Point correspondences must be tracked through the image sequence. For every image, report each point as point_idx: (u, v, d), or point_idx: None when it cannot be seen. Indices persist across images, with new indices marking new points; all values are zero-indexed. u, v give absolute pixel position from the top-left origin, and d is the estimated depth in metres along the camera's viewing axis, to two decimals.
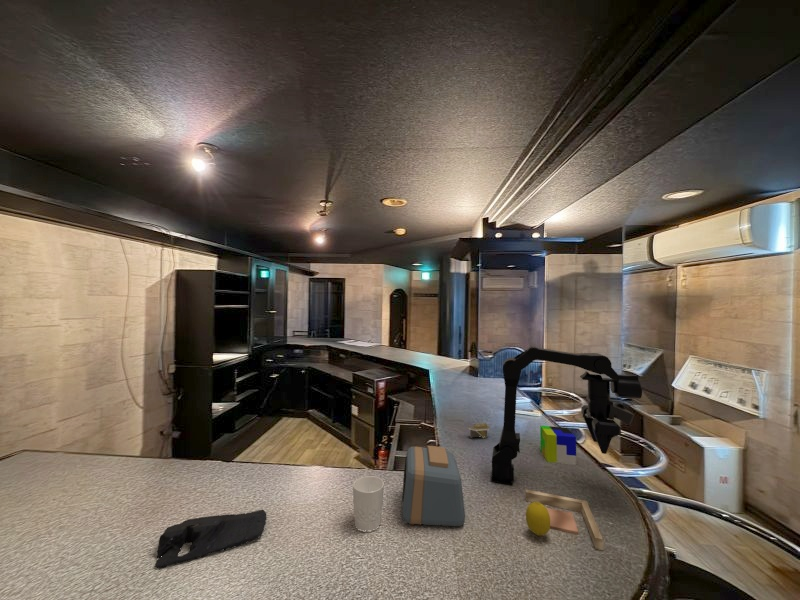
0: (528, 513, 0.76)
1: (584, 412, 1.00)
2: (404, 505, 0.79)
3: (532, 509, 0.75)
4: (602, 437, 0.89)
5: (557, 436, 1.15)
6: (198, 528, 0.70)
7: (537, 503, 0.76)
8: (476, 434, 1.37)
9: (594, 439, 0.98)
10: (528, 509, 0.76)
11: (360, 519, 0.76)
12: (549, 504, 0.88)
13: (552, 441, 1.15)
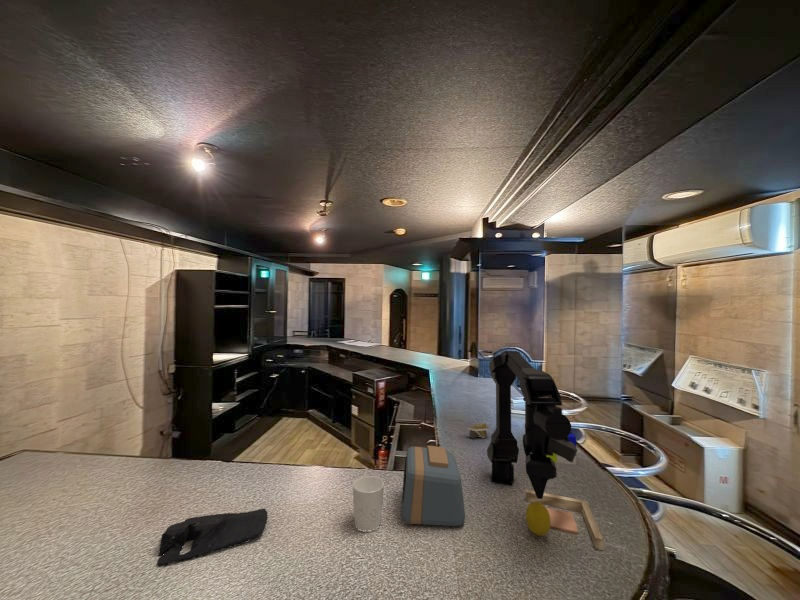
0: (528, 513, 0.76)
1: (524, 442, 0.83)
2: (404, 505, 0.79)
3: (532, 509, 0.75)
4: (537, 479, 0.72)
5: None
6: (200, 527, 0.71)
7: (537, 503, 0.76)
8: (475, 434, 1.37)
9: None
10: (528, 509, 0.76)
11: (360, 519, 0.76)
12: (549, 504, 0.88)
13: None
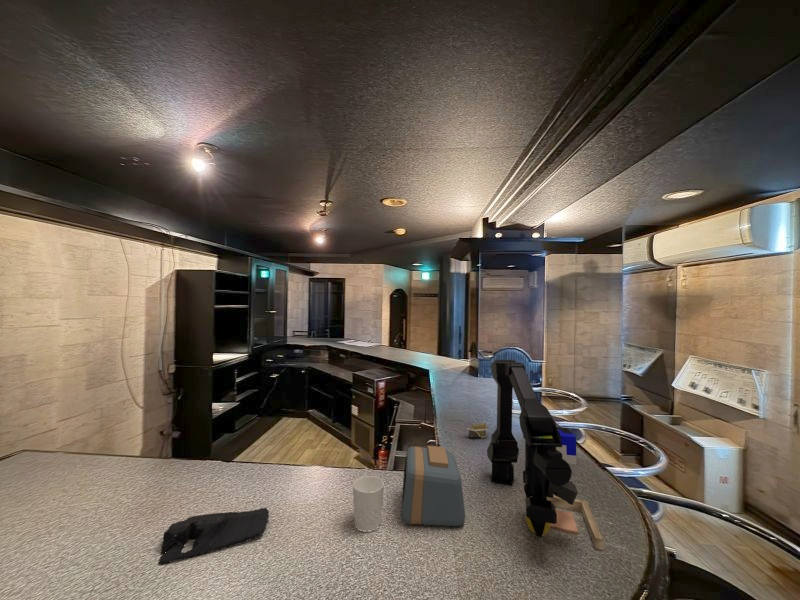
0: None
1: (524, 480, 0.83)
2: (404, 505, 0.79)
3: None
4: None
5: None
6: (201, 525, 0.71)
7: None
8: (475, 434, 1.37)
9: None
10: None
11: (360, 519, 0.76)
12: None
13: None
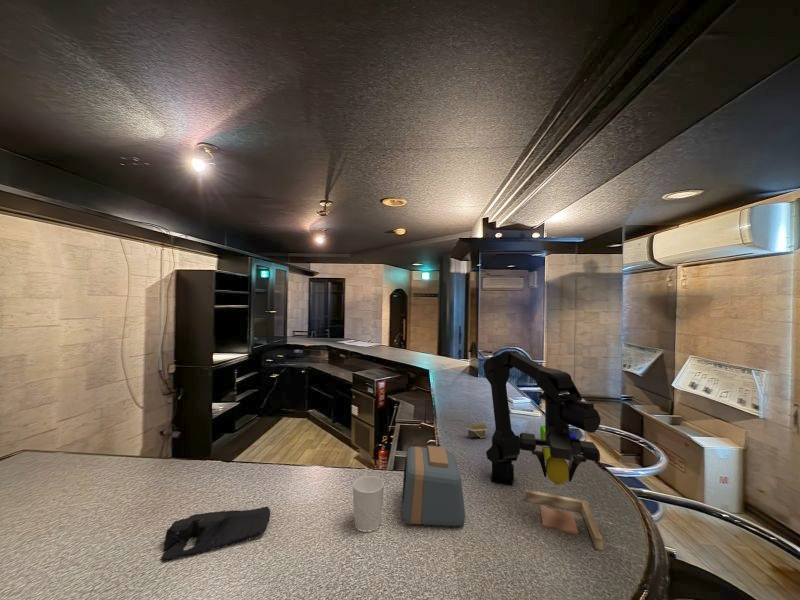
0: None
1: None
2: (404, 505, 0.79)
3: None
4: None
5: None
6: (203, 523, 0.72)
7: None
8: (474, 434, 1.37)
9: (568, 477, 0.82)
10: None
11: (360, 519, 0.76)
12: (549, 504, 0.88)
13: None
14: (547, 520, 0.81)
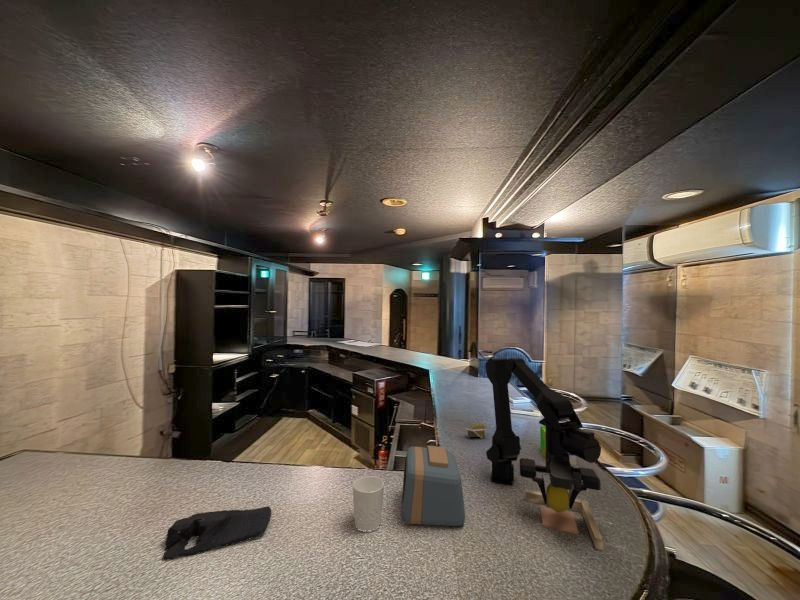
0: None
1: None
2: (404, 505, 0.79)
3: None
4: None
5: None
6: (204, 523, 0.72)
7: None
8: (473, 434, 1.37)
9: None
10: None
11: (360, 519, 0.76)
12: None
13: None
14: (547, 520, 0.81)
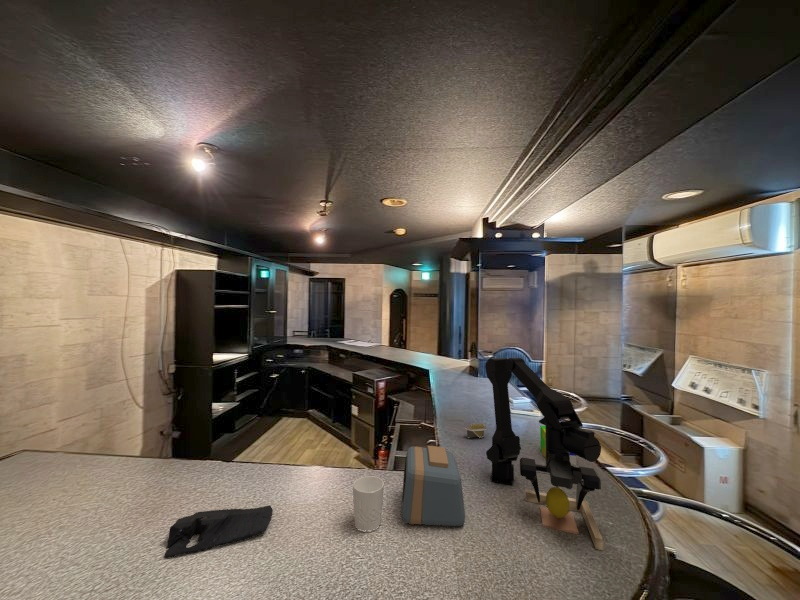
0: None
1: None
2: (404, 505, 0.79)
3: (551, 488, 0.84)
4: None
5: None
6: (206, 521, 0.73)
7: (555, 487, 0.82)
8: (473, 434, 1.37)
9: (576, 505, 0.81)
10: None
11: (360, 519, 0.76)
12: None
13: None
14: (547, 520, 0.81)
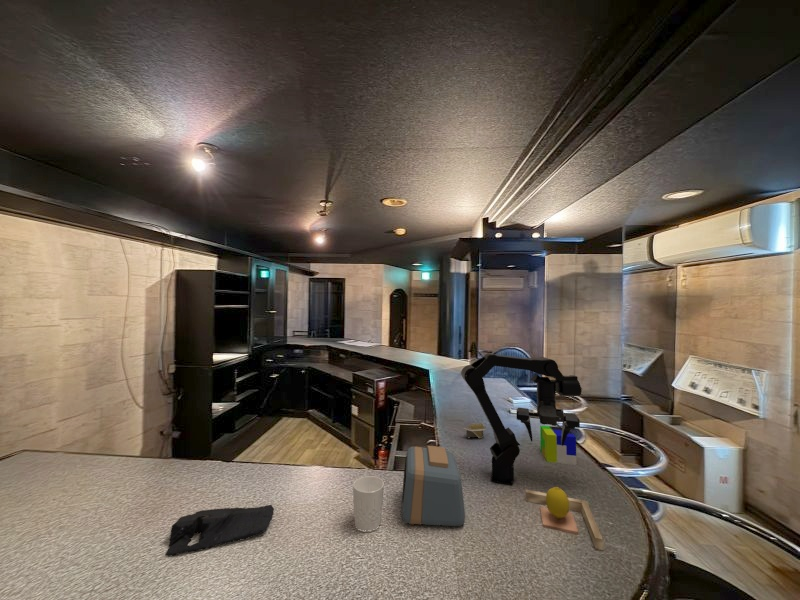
0: None
1: None
2: (404, 505, 0.79)
3: (551, 488, 0.84)
4: None
5: (557, 436, 1.15)
6: (207, 520, 0.73)
7: (555, 487, 0.82)
8: (472, 434, 1.37)
9: (561, 442, 1.01)
10: None
11: (360, 519, 0.76)
12: None
13: (552, 441, 1.15)
14: (547, 520, 0.81)
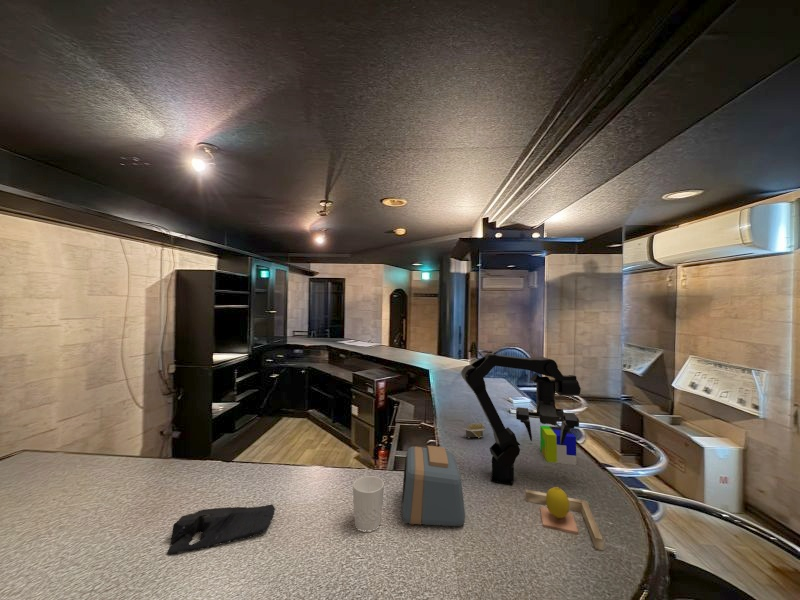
0: None
1: None
2: (404, 505, 0.79)
3: (551, 488, 0.84)
4: None
5: (557, 436, 1.15)
6: (208, 519, 0.74)
7: (555, 487, 0.82)
8: (472, 434, 1.37)
9: (560, 442, 1.02)
10: None
11: (360, 519, 0.76)
12: None
13: (552, 441, 1.15)
14: (547, 520, 0.81)
